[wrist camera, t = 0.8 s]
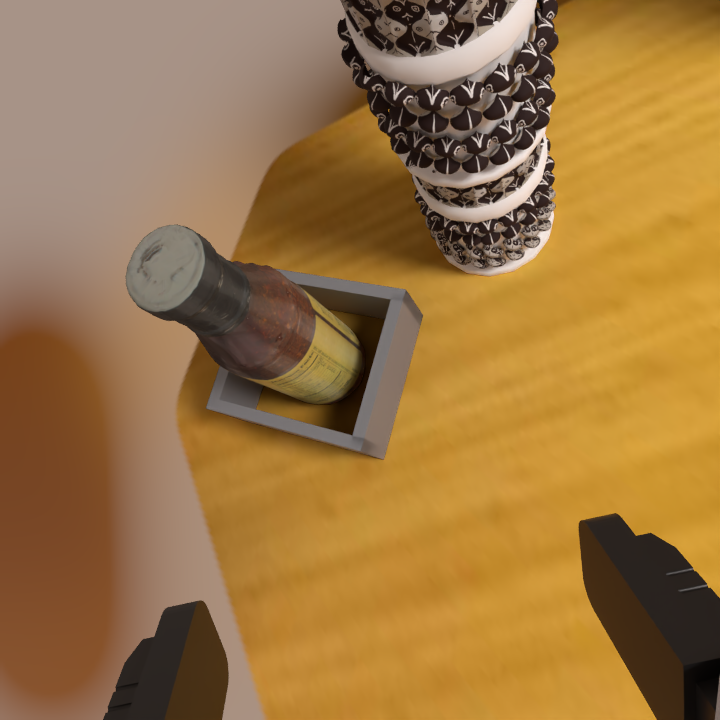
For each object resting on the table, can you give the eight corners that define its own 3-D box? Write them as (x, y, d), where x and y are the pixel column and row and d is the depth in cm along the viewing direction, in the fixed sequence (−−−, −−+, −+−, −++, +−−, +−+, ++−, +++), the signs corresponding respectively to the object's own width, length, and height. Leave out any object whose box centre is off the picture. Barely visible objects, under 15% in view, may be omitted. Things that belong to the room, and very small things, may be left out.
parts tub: (284, 291, 46) (253, 265, 41) (423, 315, 41) (405, 289, 37) (242, 420, 44) (205, 408, 39) (383, 459, 40) (360, 451, 35)
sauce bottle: (287, 338, 45) (99, 212, 26) (363, 318, 43) (218, 168, 25) (296, 421, 42) (100, 345, 24) (377, 402, 41) (230, 306, 23)
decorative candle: (403, 228, 44) (232, -92, 21) (495, 142, 43) (421, -284, 20) (487, 307, 40) (390, 22, 17) (588, 214, 40) (626, -208, 17)
